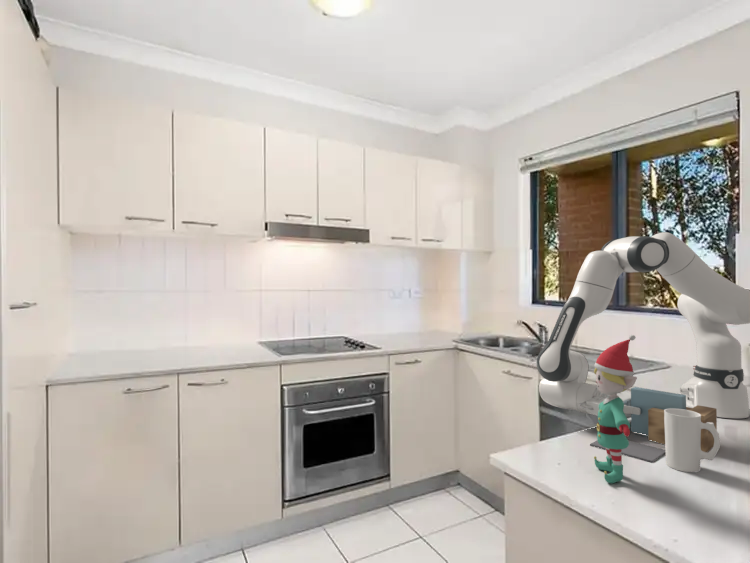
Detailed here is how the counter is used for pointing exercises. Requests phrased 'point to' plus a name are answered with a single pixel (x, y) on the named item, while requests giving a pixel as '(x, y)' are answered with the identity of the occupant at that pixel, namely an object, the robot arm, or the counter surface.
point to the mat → (639, 451)
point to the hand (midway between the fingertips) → (644, 409)
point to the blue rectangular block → (652, 405)
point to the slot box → (707, 413)
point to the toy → (613, 407)
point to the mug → (686, 439)
